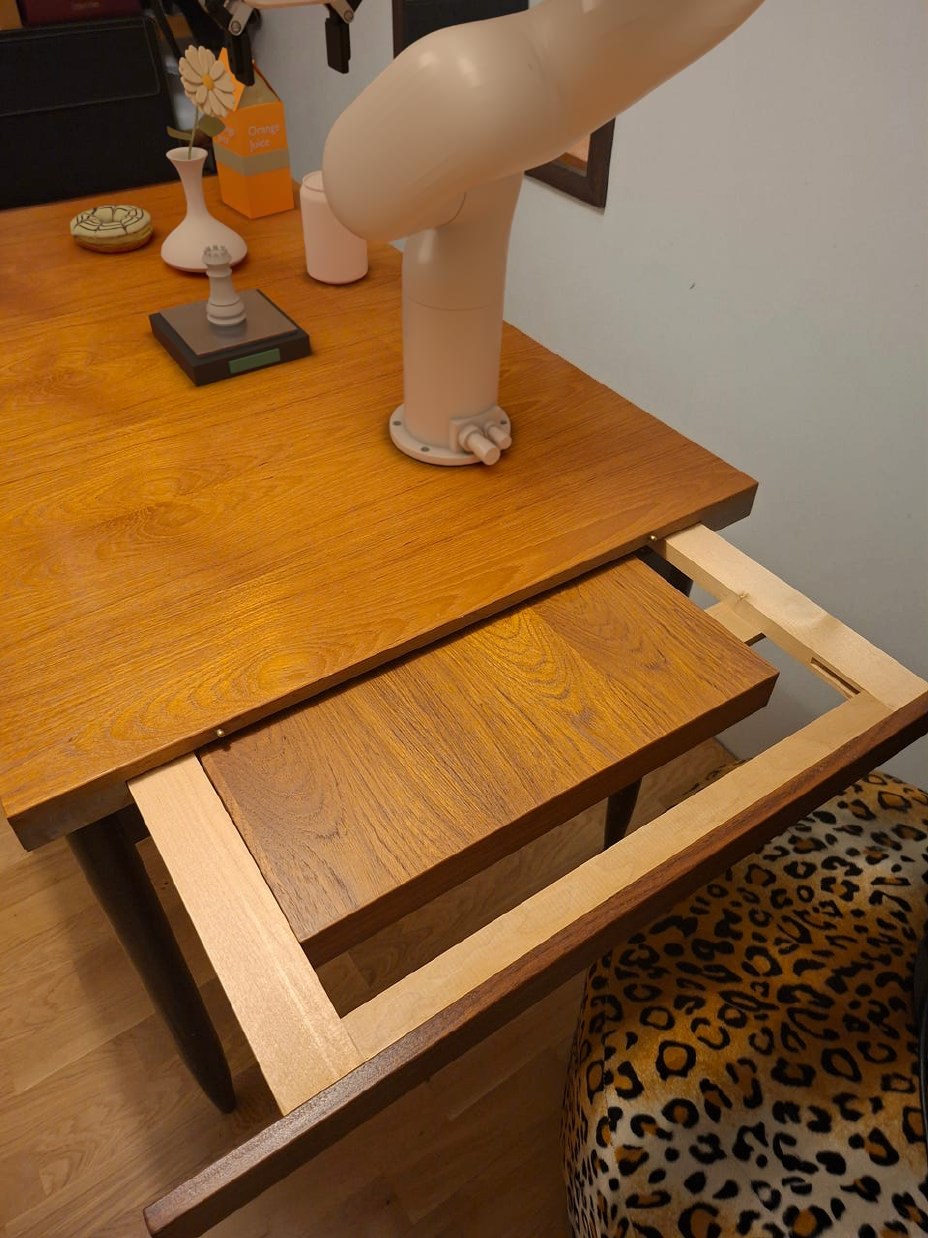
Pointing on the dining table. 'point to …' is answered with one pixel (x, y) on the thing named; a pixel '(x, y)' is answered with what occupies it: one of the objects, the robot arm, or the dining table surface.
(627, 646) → the dining table surface
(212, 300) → the rook chess piece
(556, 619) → the dining table surface
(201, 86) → the flower in vase
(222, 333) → the platter
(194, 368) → the scale
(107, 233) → the decorated donut
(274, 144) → the orange juice
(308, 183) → the beverage can
